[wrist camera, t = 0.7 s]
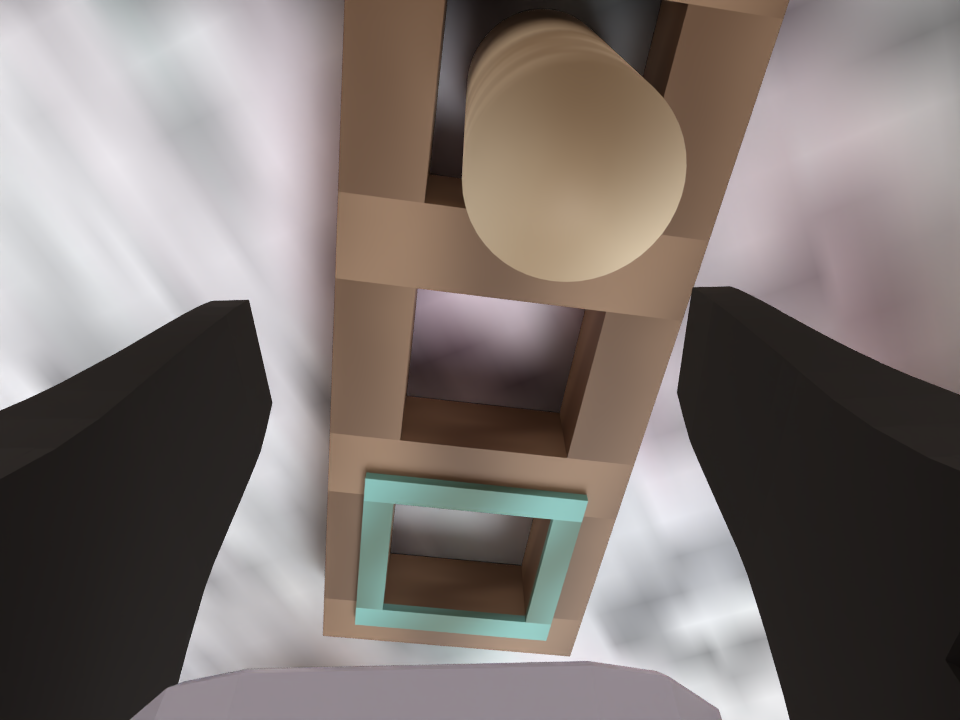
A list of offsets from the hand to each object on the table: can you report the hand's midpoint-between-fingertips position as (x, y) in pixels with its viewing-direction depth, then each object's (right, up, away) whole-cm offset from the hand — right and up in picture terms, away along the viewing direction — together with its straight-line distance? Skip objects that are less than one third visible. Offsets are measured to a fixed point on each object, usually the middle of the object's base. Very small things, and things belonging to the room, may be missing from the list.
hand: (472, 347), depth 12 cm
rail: (+1, +1, +12) cm, 12 cm away
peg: (+2, +7, +8) cm, 11 cm away
